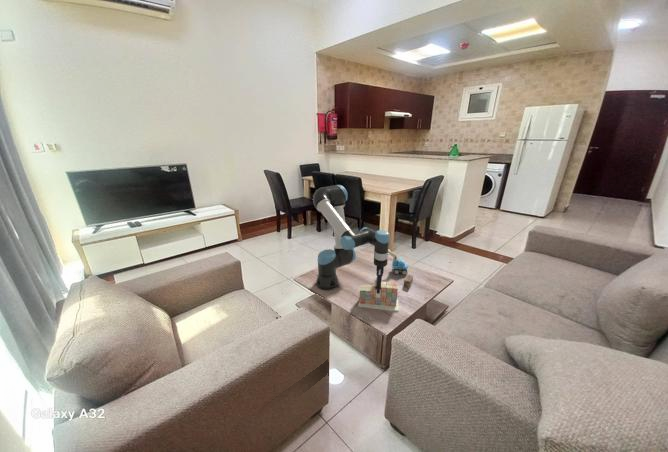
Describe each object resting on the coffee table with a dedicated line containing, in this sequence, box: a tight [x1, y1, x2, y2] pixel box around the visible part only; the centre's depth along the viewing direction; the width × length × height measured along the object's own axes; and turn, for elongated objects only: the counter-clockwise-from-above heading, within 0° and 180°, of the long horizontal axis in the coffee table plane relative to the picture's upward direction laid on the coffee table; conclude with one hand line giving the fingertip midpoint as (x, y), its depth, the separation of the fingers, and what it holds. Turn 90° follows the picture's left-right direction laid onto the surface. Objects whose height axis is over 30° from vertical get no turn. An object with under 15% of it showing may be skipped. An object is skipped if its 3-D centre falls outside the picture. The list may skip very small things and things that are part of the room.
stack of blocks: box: [359, 280, 399, 306], centre depth 151 cm, size 21×6×12 cm, turn 82°
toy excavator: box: [388, 248, 409, 276], centre depth 183 cm, size 9×17×17 cm, turn 80°
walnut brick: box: [403, 273, 414, 289], centre depth 170 cm, size 4×8×5 cm, turn 151°
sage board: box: [357, 298, 399, 312], centre depth 152 cm, size 23×10×1 cm, turn 77°
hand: (378, 289), depth 149 cm, fingers open, 13 cm apart
